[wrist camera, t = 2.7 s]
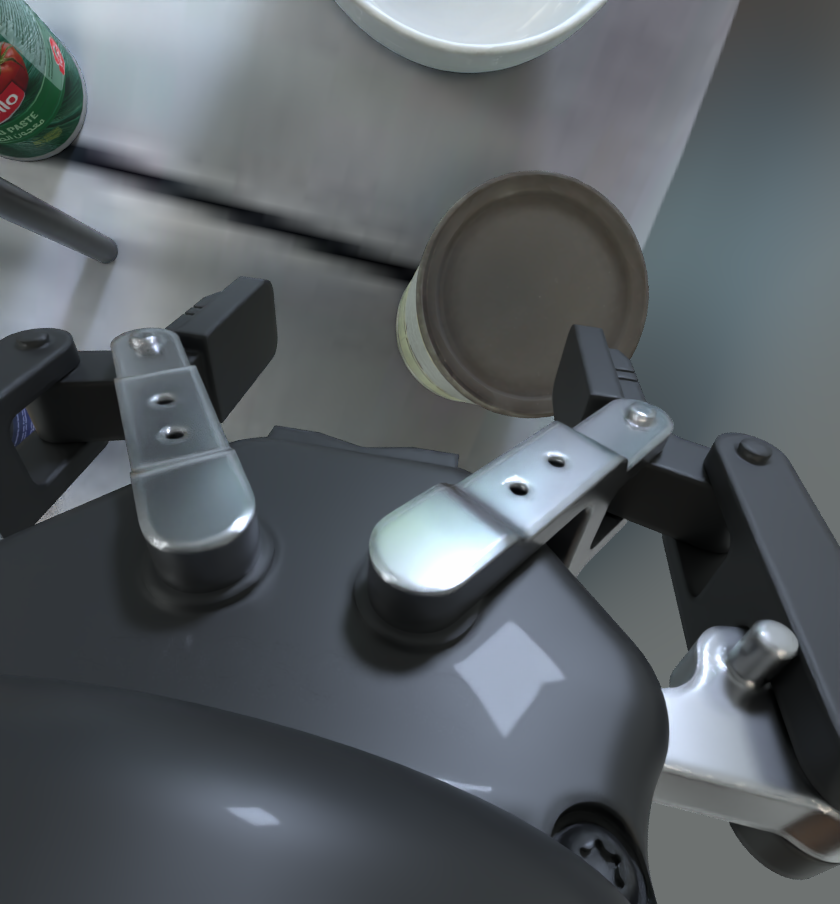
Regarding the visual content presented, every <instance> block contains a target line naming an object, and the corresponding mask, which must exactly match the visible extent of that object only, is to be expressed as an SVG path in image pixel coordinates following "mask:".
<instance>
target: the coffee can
mask: <svg viewBox="0 0 840 904" xmlns="http://www.w3.org/2000/svg"><path fill="white" fill-rule="evenodd" d="M648 291H649V286H648V277H647V270H646V265H645V261H644V258H643V254H642V251H641V248H640V245H639V242H638V240H637V238H636V236H635V233H634V232H633V230H632V228H631V226H630V224H629V223H628V222H627V220H626V219H625V217H624V216H623V214H622V213H621V212H620V211H619V210H618V209H617V207H616V206H615V205H614V204H613V203H611V202H610V201H609V200H608V199H607V198H606V197H605V196H603V195H602V194H601V193H599V192H598V191H597V190H595V189H594V188H592V187H591V186H589V185H587V184H585V183H583V182H581V181H579V180H578V179H575V178H572V177H570V176H567V175H563V174H559V173H555V172H549V171H519V172H513V173H508V174H505V175H502V176H499V177H496V178H493V179H491V180H488V181H486V182H484V183H482V184H481V185H479V186H477V187H476V188H474V189H473V190H471V191H470V192H468V193H467V194H465V195H464V196H463V197H462V198H460V199H459V200H458V201H457V202H456V203H455V204H454V205H453V206H452V207H451V208H450V209H449V210H448V211H447V212H446V214H445V215H444V216H443V218H442V219H441V220H440V222H439V223H438V225H437V226H436V228H435V230H434V231H433V233H432V235H431V237H430V239H429V241H428V243H427V245H426V248H425V251H424V253H423V256H422V259H421V262H420V265H419V267H418V269H417V271H416V273H415V274H414V276H413V278H412V280H411V282H410V283H409V285H408V286H407V288H406V289H405V291H404V293H403V295H402V298H401V300H400V303H399V307H398V311H397V318H396V336H397V343H398V348H399V351H400V354H401V356H402V358H403V360H404V363H405V364H406V366H407V368H408V369H409V371H410V372H411V373H412V375H413V376H414V377H415V378H416V379H417V380H418V381H419V382H420V383H421V384H422V385H423V386H424V387H426V388H427V389H428V390H430V391H431V392H433V393H434V394H436V395H439V396H441V397H444V398H446V399H450V400H454V401H460V402H467V403H471V404H475V405H479V406H481V407H483V408H485V409H487V410H490V411H492V412H495V413H499V414H503V415H507V416H512V417H519V418H541V417H549V416H554V411H553V403H552V393H553V386H554V381H555V377H556V374H557V370H558V367H559V364H560V360H561V357H562V353H563V350H564V347H565V343H566V340H567V336H568V333H569V330H570V328H571V326H572V325H573V324H575V325H582V326H589V327H596V328H602V329H603V332H604V335H605V338H606V341H607V344H608V347H609V348H611V349H618V350H620V351H621V352H622V353H623V354H624V355H625V356H626V357H627V358H628V359H629V360H630V358H631V357H632V355H633V353H634V351H635V349H636V347H637V344H638V342H639V340H640V337H641V334H642V331H643V328H644V324H645V320H646V316H647V309H648V300H649V292H648Z"/></svg>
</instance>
